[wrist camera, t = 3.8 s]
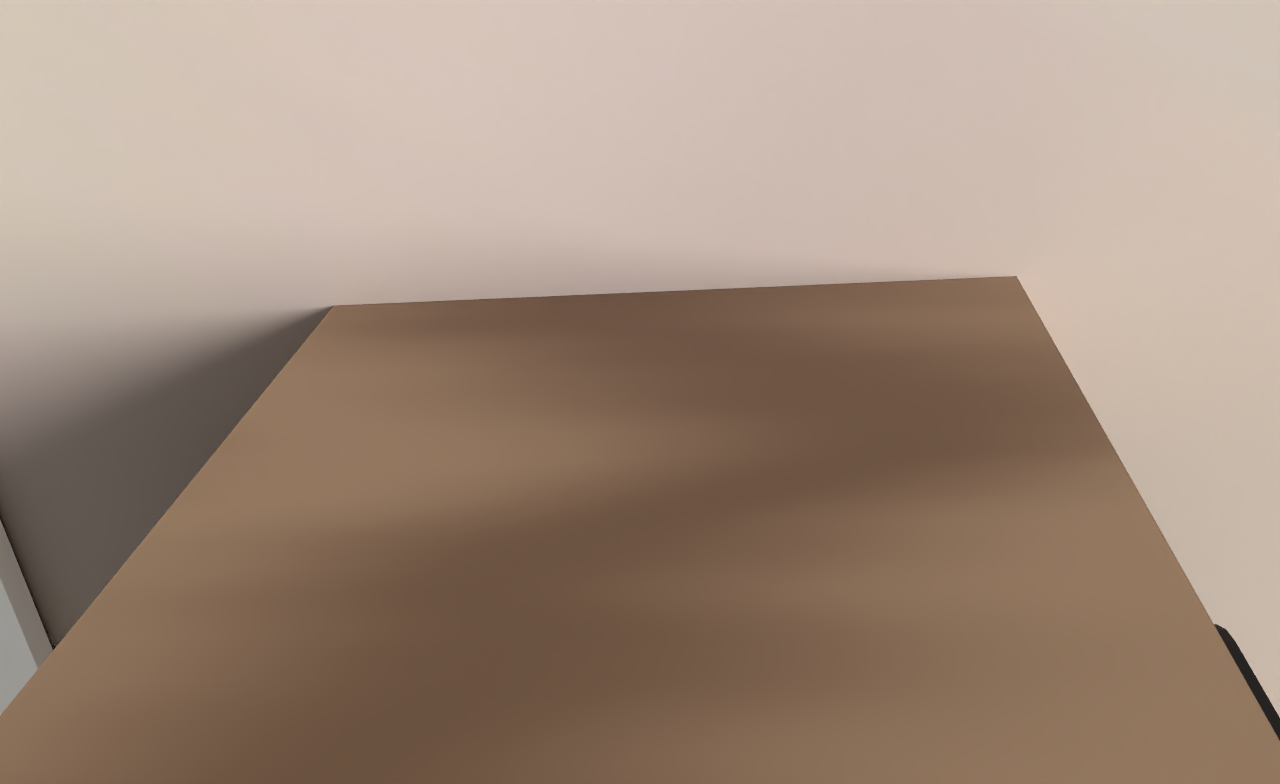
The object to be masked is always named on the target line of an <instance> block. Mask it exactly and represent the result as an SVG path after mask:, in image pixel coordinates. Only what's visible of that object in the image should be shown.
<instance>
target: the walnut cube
mask: <svg viewBox="0 0 1280 784" xmlns="http://www.w3.org/2000/svg"><path fill="white" fill-rule="evenodd" d="M0 784H1280V740H1279V739H1278V737H1277V735H1276V733H1275V732H1274V730H1273V728H1272V726H1271V725H1270V723H1269V721H1268V719H1267V718H1266V716H1265V714H1264V712H1263V710H1262V709H1261V707H1260V705H1259V703H1258V702H1257V700H1256V698H1255V696H1254V695H1253V693H1252V691H1251V689H1250V688H1249V686H1248V684H1247V682H1246V680H1245V679H1244V677H1243V675H1242V673H1241V672H1240V670H1239V668H1238V666H1237V665H1236V663H1235V661H1234V659H1233V658H1232V656H1231V654H1230V652H1229V651H1228V649H1227V647H1226V645H1225V643H1224V642H1223V640H1222V638H1221V636H1220V635H1219V633H1218V631H1217V629H1216V628H1215V626H1214V624H1213V622H1212V621H1211V619H1210V617H1209V615H1208V613H1207V612H1206V610H1205V608H1204V606H1203V605H1202V603H1201V601H1200V599H1199V598H1198V596H1197V594H1196V592H1195V591H1194V589H1193V587H1192V585H1191V583H1190V582H1189V580H1188V578H1187V576H1186V575H1185V573H1184V571H1183V569H1182V568H1181V566H1180V564H1179V562H1178V561H1177V559H1176V557H1175V555H1174V553H1173V552H1172V550H1171V548H1170V546H1169V545H1168V543H1167V541H1166V539H1165V538H1164V536H1163V534H1162V532H1161V531H1160V529H1159V527H1158V525H1157V523H1156V522H1155V520H1154V518H1153V516H1152V515H1151V513H1150V511H1149V509H1148V508H1147V506H1146V504H1145V502H1144V501H1143V499H1142V497H1141V495H1140V494H1139V492H1138V490H1137V488H1136V486H1135V485H1134V483H1133V481H1132V479H1131V478H1130V476H1129V474H1128V472H1127V471H1126V469H1125V467H1124V465H1123V464H1122V462H1121V460H1120V458H1119V456H1118V455H1117V453H1116V451H1115V449H1114V448H1113V446H1112V444H1111V442H1110V441H1109V439H1108V437H1107V435H1106V434H1105V432H1104V430H1103V428H1102V426H1101V425H1100V423H1099V421H1098V419H1097V418H1096V416H1095V414H1094V412H1093V411H1092V409H1091V407H1090V405H1089V404H1088V402H1087V400H1086V398H1085V396H1084V395H1083V393H1082V391H1081V389H1080V388H1079V386H1078V384H1077V382H1076V381H1075V379H1074V377H1073V375H1072V374H1071V372H1070V370H1069V368H1068V366H1067V365H1066V363H1065V361H1064V359H1063V358H1062V356H1061V354H1060V352H1059V351H1058V349H1057V347H1056V345H1055V344H1054V342H1053V340H1052V338H1051V337H1050V335H1049V333H1048V331H1047V329H1046V328H1045V326H1044V324H1043V322H1042V321H1041V319H1040V317H1039V315H1038V314H1037V312H1036V310H1035V308H1034V307H1033V305H1032V303H1031V301H1030V299H1029V298H1028V296H1027V294H1026V292H1025V291H1024V289H1023V287H1022V285H1021V284H1020V282H1019V280H1018V278H1017V277H1016V276H1013V277H990V278H967V279H944V280H920V281H897V282H874V283H851V284H827V285H804V286H781V287H758V288H735V289H711V290H688V291H665V292H642V293H619V294H595V295H572V296H549V297H526V298H502V299H479V300H456V301H433V302H410V303H386V304H363V305H340V306H333V307H332V308H331V310H330V311H329V312H328V313H327V314H326V316H325V317H324V318H323V319H322V321H321V322H320V323H319V324H318V325H317V327H316V328H315V329H314V330H313V332H312V333H311V334H310V335H309V337H308V338H307V339H306V340H305V341H304V343H303V344H302V345H301V346H300V348H299V349H298V350H297V351H296V353H295V354H294V355H293V356H292V357H291V359H290V360H289V361H288V362H287V364H286V365H285V366H284V367H283V369H282V370H281V371H280V372H279V373H278V375H277V376H276V377H275V378H274V380H273V381H272V382H271V383H270V384H269V386H268V387H267V388H266V389H265V391H264V392H263V393H262V394H261V396H260V397H259V398H258V399H257V400H256V402H255V403H254V404H253V405H252V407H251V408H250V409H249V410H248V412H247V413H246V414H245V415H244V416H243V418H242V419H241V420H240V421H239V423H238V424H237V425H236V426H235V428H234V429H233V430H232V431H231V432H230V434H229V435H228V436H227V437H226V439H225V440H224V441H223V442H222V443H221V445H220V446H219V447H218V448H217V450H216V451H215V452H214V453H213V455H212V456H211V457H210V458H209V459H208V461H207V462H206V463H205V464H204V466H203V467H202V468H201V469H200V471H199V472H198V473H197V474H196V475H195V477H194V478H193V479H192V480H191V482H190V483H189V484H188V485H187V487H186V488H185V489H184V490H183V491H182V493H181V494H180V495H179V496H178V498H177V499H176V500H175V501H174V503H173V504H172V505H171V506H170V507H169V509H168V510H167V511H166V512H165V514H164V515H163V516H162V517H161V518H160V520H159V521H158V522H157V523H156V525H155V526H154V527H153V528H152V530H151V531H150V532H149V533H148V534H147V536H146V537H145V538H144V539H143V541H142V542H141V543H140V544H139V546H138V547H137V548H136V549H135V550H134V552H133V553H132V554H131V555H130V557H129V558H128V559H127V560H126V562H125V563H124V564H123V565H122V566H121V568H120V569H119V570H118V571H117V573H116V574H115V575H114V576H113V577H112V579H111V580H110V581H109V582H108V584H107V585H106V586H105V587H104V589H103V590H102V591H101V592H100V593H99V595H98V596H97V597H96V598H95V600H94V601H93V602H92V603H91V605H90V606H89V607H88V608H87V609H86V611H85V612H84V613H83V614H82V616H81V617H80V618H79V619H78V621H77V622H76V623H75V624H74V625H73V627H72V628H71V629H70V630H69V632H68V633H67V634H66V635H65V636H64V638H63V639H62V640H61V641H60V643H59V644H58V645H57V646H56V648H55V649H54V650H53V651H52V652H51V654H50V655H49V656H48V657H47V659H46V660H45V661H44V662H43V664H42V665H41V666H40V667H39V668H38V670H37V671H36V672H35V673H34V675H33V676H32V677H31V678H30V680H29V681H28V682H27V683H26V684H25V686H24V687H23V688H22V689H21V691H20V692H19V693H18V694H17V695H16V697H15V698H14V699H13V700H12V702H11V703H10V704H9V705H8V707H7V708H6V709H5V710H4V711H3V713H2V714H1V715H0Z"/></svg>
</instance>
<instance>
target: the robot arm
mask: <svg viewBox="0 0 1280 784" xmlns="http://www.w3.org/2000/svg"><path fill="white" fill-rule="evenodd" d="M1214 626H1215V628H1216V629H1217V631H1218V633H1219V635H1220V636H1221V638H1222V640H1223V642H1224V643H1225V645H1226V647H1227V649H1228V651H1229V652H1230V654H1231V656H1232V658H1233V659H1234V661H1235V663H1236V665H1237V666H1238V668H1239V670H1240V672H1241V673H1242V675H1243V677H1244V679H1245V680H1246V682H1247V684H1248V686H1249V688H1250V689H1251V691H1252V693H1253V695H1254V696H1255V698H1256V700H1257V702H1258V703H1259V705H1260V707H1261V709H1262V710H1263V712H1264V714H1265V716H1266V718H1267V719H1268V721H1269V723H1270V725H1271V726H1272V728H1273V730H1274V732H1275V733H1276V735H1277V737H1278V739H1279V740H1280V718H1279V716H1278V714H1277V712H1276V711H1275V709H1274V707H1273V706H1272V704H1271V702H1270V700H1269V699H1268V697H1267V695H1266V693H1265V692H1264V690H1263V688H1262V687H1261V685H1260V683H1259V681H1258V680H1257V678H1256V676H1255V675H1254V673H1253V671H1252V669H1251V668H1250V666H1249V664H1248V662H1247V661H1246V659H1245V657H1244V656H1243V654H1242V652H1241V650H1240V649H1239V647H1238V645H1237V644H1236V642H1235V641H1234V639H1233V638H1232V637H1231V635H1230V634H1229V633H1228V631H1227V630H1226V629H1224V628H1222V627H1220V626H1219V625H1217V624H1214Z"/></svg>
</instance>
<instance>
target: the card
mask: <svg viewBox="0 0 1280 784" xmlns="http://www.w3.org/2000/svg"><path fill="white" fill-rule="evenodd" d="M52 651H53V649H52V647H51V644H50V642H49V639H48V637H47V634H46V632H45V629H44V627H43V624H42V622H41V619H40V617H39V614H38V612H37V609H36V607H35V604H34V602H33V599H32V597H31V595H30V592H29V590H28V587H27V585H26V582H25V580H24V577H23V575H22V572H21V570H20V567H19V565H18V562H17V560H16V557H15V555H14V552H13V550H12V547H11V545H10V542H9V540H8V537H7V535H6V532H5V530H4V527H3V525H2V522H1V520H0V715H1V714H2V713H3V711H4V710H5V709H6V708H7V707H8V705H9V704H10V703H11V702H12V700H13V699H14V698H15V697H16V695H17V694H18V693H19V692H20V691H21V689H22V688H23V687H24V686H25V684H26V683H27V682H28V681H29V680H30V678H31V677H32V676H33V675H34V673H35V672H36V671H37V670H38V668H39V667H40V666H41V665H42V664H43V662H44V661H45V660H46V659H47V657H48V656H49V655H50V654H51V652H52Z"/></svg>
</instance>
